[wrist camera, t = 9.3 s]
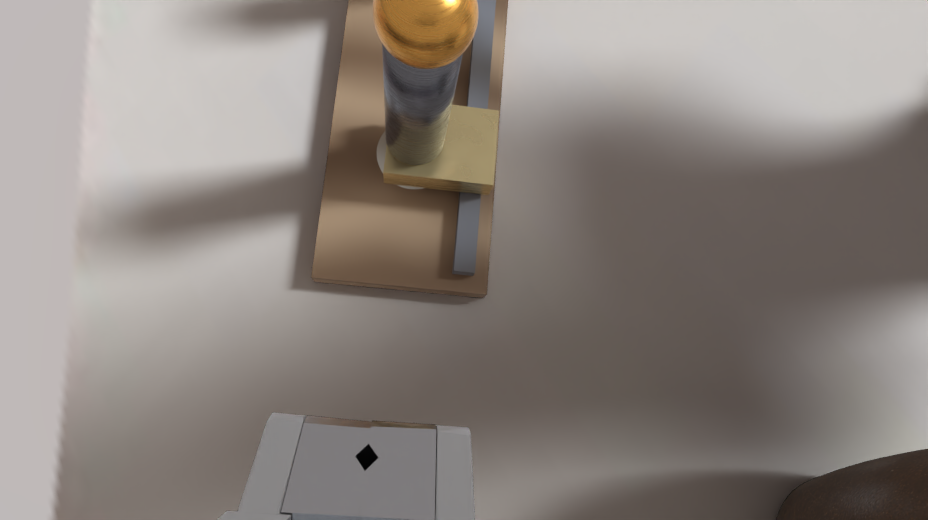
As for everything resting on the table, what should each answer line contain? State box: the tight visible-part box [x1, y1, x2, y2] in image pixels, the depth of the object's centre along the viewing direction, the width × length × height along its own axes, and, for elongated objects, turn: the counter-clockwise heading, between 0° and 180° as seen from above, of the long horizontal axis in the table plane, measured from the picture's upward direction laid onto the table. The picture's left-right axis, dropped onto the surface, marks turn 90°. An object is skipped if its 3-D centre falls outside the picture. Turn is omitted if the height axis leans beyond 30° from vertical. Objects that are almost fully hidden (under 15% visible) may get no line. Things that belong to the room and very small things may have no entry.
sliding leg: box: [373, 0, 499, 195], centre depth 27 cm, size 4×6×16 cm
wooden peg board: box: [311, 0, 508, 298], centre depth 31 cm, size 26×10×13 cm, turn 176°
